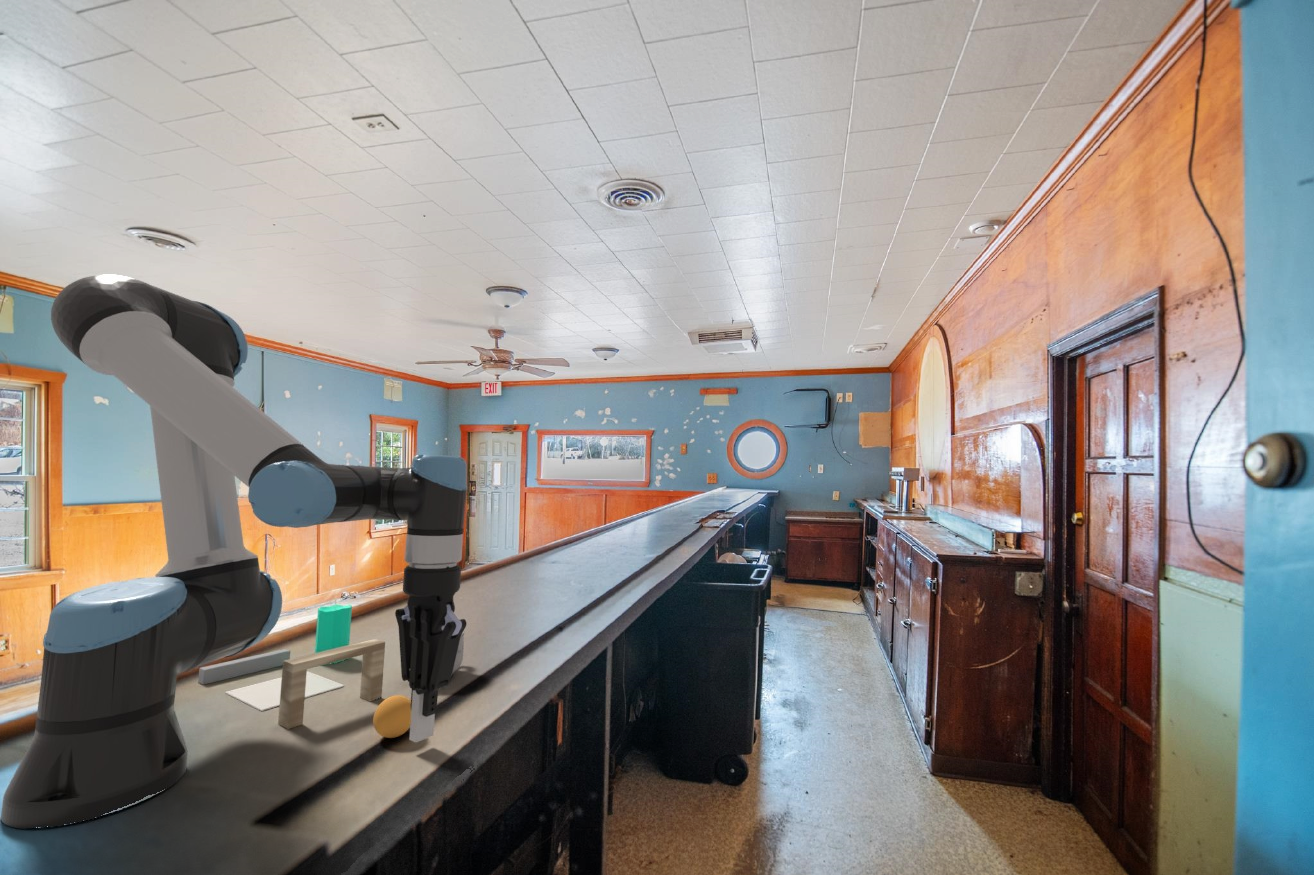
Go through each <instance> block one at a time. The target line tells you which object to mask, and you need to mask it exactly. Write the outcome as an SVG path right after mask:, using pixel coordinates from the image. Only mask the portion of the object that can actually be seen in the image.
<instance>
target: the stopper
mask: <svg viewBox="0 0 1314 875" xmlns="http://www.w3.org/2000/svg"><path fill="white" fill-rule="evenodd" d="M288 659H291V650H289V649H287V648H284V649H279V650H274V651H270V652H266V653H261V654H256V655H251V656H248V657H242V658H238V659H234V660H229V661H224V662H220V663H216V664H211V665H206V666H200V667H198V669H199V670H198V680H197V681H198V682H197V683H198V684H201V685H207V684H212V683H215V682H220V681H223V680H228V679H233V678H237V677H240V676H245V675H249V674H253V673H257V672H261V671H265V670H269V669H274V668H278V667H281V666H282V667H283V661H284V660H288Z"/></svg>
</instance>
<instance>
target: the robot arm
mask: <svg viewBox="0 0 1314 875" xmlns="http://www.w3.org/2000/svg"><path fill="white" fill-rule="evenodd" d="M50 320H51V325H52V328H53V331H54V333H55V334H56V336H57V338H58V339H59V341H60V342H61V343H62V344H63V345H64V347H65V348H66V349H67V350H68V351H69V353H71V354H72V355H74V357H76V358H77V359H78V360H80V361H81V362H82V363H84V365H86V366H87V367H88V368H89V369H91V370H92V371H95V372H96V373H99V374H102V375H105V376H114V377H115V378H117V380H118V381H120V382H121V383H122V384H124V385H125V386H126V387H127V388H128V389H129V390H131V391H132V392H133V393H134V394H136V395H137V396H138V397H139V398H141V400H142V401H144V402H145V403H146V404H147V405H149V408H150V416H151V425H152V432H153V433H152V434H153V442H154V449H155V459H156V466H157V467H156V468H157V473H158V474H157V476H158V483H159V485H158V486H159V493H160V499H161V500H160V501H161V509H162V515H163V516H162V517H163V518H162V519H163V526H164V536H165V541H166V550H167V562H166V564H164V566H163V567H162V568H161V569H160V570H159V571H158V572H157V573H156V574H155V576H151V577H150V576H149V577H148V576H147V577H140V578H139V577H138V578H133V579H128V580H125V581H123V580H122V581H120V580H119V581H118V580H117V581H111V582H107V583H103V584H98V585H94V586H90V587H88V588H84V589H82V590H79V591H76V592H73V593H71V594H69V595H67V596H65V597H63V598H62V599H61V600H59V602H57V603H56V604H55V605H54V607H53V608H52V609H51V612H50V615H49V618H48V623H47V628H46V629H47V630H46V632H45V634H44V636H43V639H42V641H43V642H42V646H43V654H42V655H43V656H42V666H41V669H42V670H41V677H40V685H39V686H40V687H39V694H38V695H39V696H38V702H37V703H38V704H37V712H36V720H35V730H34V736H33V738H32V740H31V742H30V744H29V746H28V747H27V750H26V752H25V753H24V755H23V757H22V759H21V761H20V763H19V765H18V767H17V768H16V770H15V772H14V775H13V777H12V778H11V780H10V781H9V784H8V785H7V787H6V790H5V792H4V794H3V798H2V804H1V806H2V807H1V812H0V820H1V822H2V823H3V824H4V825H6V826H8V827H11V826H12V827H11V828H16V829H23V828H36V827H37V828H38V827H41V828H40V829H43V828H42V827H47V826H48V827H50V828H52V827H51V826H58V827H62V826H61V825H64V824H70V823H74V822H79V823H82V822H81V821H83V820H88V821H91V820H90V819H92V820H95V819H94V818H95V817H99V816H101V815H103V814H105V813H109V812H111V811H113V810H117V809H118V808H122V807H124V806H127V805H129V804H132V803H135V802H136V801H139V800H141V799H143V798H144V797H146V796H148V795H152V794H156V793H157V792H160V791H162V790H164V789H166V788H168V789H170V787H173V786H174V785H175V784H176V783H178V781H180V780H181V779H182V777H183V776H184V775H185V773H186V770H187V765H188V755H189V754H188V752H189V751H188V747H187V746H188V745H187V744H186V740H185V738H184V735H183V732H182V729H181V725H180V723H179V720H178V717H177V714H176V711H175V710H176V709H175V701H176V700H175V699H176V690H177V688H176V687H177V680H178V675H181V674H183V673H186V672H189V671H192V670H195V669H199V668H201V667H204V666H205V665H206V666H207V665H208V664H211V663H213V662H215V661H218V660H220V659H225V658H229V657H233V656H236V655H239V654H241V653H242V652H245V651H246V650H247V649H249V648H252V647H254V646H255V645H257V644H259V643H260V642H262V641H263V640H264V639H265V638H266V637H268V636H269V635H270V633H271V632H272V630H273V629H274V628H275V627H276V625H277V623H278V621H279V618H280V615H281V612H282V608H283V595H282V594H283V593H282V591H281V590H282V589H281V587H280V585H279V583H278V582H277V580H276V579H275V578H272V577H271V574H269V573H267V572H265V571H264V570H263V571H262V570H261V568H260V564H259V563H260V562H259V557H258V555H257V554H255V553H254V552H252V551H250V550H248V549H247V548H246V547H245V546H244V545H245V544H244V536H243V530H242V529H243V528H242V523H241V515H240V508H239V500H238V493H237V484H236V478H237V479H238V480H240V482H242V483H243V484H244V485H245V486H246V487H248V493H247V494H248V496H247V497H248V502H249V504H250V505H251V509H252V513H253V514H254V516H255V517H256V518H257V519H258V520H260V521H261V522H263V523H264V524H266V525H269V526H271V527H277V528H278V527H279V528H296V529H299V528H308V527H313V526H318V525H319V526H320V525H326V524H334V523H345V522H355V521H356V522H357V521H363V520H364V521H368V520H378V521H379V520H386V521H388V520H389V521H390V520H391V521H395V520H396V521H406V522H407V525H406V526H407V528H406V540H405V550H404V562H406V564H408V565H406V566H405V567H404V570H403V580H402V581H403V582H402V592H403V593H404V594H406V595H408V598H407V602H406V604H407V605H406V606H404V607H402V608H397V609H396V610H395V612H394V614H395V618H396V621H397V626H398V637H399V638H398V640H399V656H400V669H401V670H400V672H401V673H400V674H401V679H402V681H404V682H406V681H407V682H408V685H409V688H410V690H411V695H410V700H411V723H410V728H409V739H408V740H409V741H411V742H413V743H420V742H421V741H424V740H426V739H428V738H431V737H433V736H434V732H435V718H436V717H435V716H436V714H437V710H438V709H437V707H438V695H439V694H438V693H439V690H440V689H443V688H446V687H449V686H450V685H451V681H452V676H453V674H452V672H453V668H454V663H455V659H456V655H457V650H458V646H459V641H460V637H461V635H462V633H463V631H464V632H465V629H466V628H467V621H466V619H465V618H461V619H459V618H458V616H457V615H456V613H455V611H456V610H455V609H456V605H455V602H454V596H455V595H456V593H457V592H458V591H460V589H461V581H462V580H461V578H462V566H461V565H460V564H459V562H461V561H462V560H463V559H462V558H463V543H464V542H463V540H464V530H465V529H464V527H465V526H464V525H465V512H466V501H467V493H468V492H467V491H468V489H469V488H468V476H467V475H468V466H467V462H466V460H465V459H464V458H463V457H461V456H455V455H444V454H443V455H441V454H417V455H415V456H413V458H412V461H411V464H410V467H402V468H400V467H385V466H384V467H382V466H366V465H365V466H364V465H353V464H352V465H347V464H346V465H345V464H331V463H328V462H325V461H324V460H323V459H322V458H320V457H319V456H317V455H316V454H315V453H314V452H312V451H311V450H310V449H309V448H307V447H306V446H305V445H304V444H303V443H302V442H300V441H299V440H298V439H297V438H296V437H295V436H293V434H291V433H289V432H288V431H287V430H285V429H284V428H283V427H282V426H281V425H279V423H277V422H276V421H275V420H273V419H272V418H271V417H270V416H268V415H267V414H266V413H265V412H264V411H263V410H261V409H260V408H258V406H256V405H255V404H254V403H252V401H250V400H249V399H248V398H247V397H246V396H244V395H243V394H242V393H241V392H240V391H238V390H237V389H235V388H234V386H235V377H236V376H237V375H238V374H239V373H240V372H241V371H242V370H243V367H242V365H243V364H246V361H247V359H248V352H249V351H248V350H249V348H248V342H247V338H246V334H245V333H244V331H243V329H242V328H241V327H240V325H239V324H238V323H237V321H236V320H234V319H233V318H232V317H230V315H228V314H226V313H224V312H222V311H219V310H218V309H216V308H215V307H213V306H211V305H209V304H207V303H205V302H204V303H203V302H200V301H196V300H192V299H189V298H186V297H183V296H182V295H179V294H175V293H173V292H170V291H168V290H165V289H163V288H161V287H157V286H155V285H152V284H150V283H147V282H144V281H142V280H139V279H136V278H133V277H130V276H124V275H117V274H97V275H95V274H94V275H89V276H86V277H82V278H80V279H76V280H74V281H72V282H71V283H69V284H68V285H67V286H65V287H64V288H63V289H62V290H60V291H59V293H58V294H57V296H56V297H55V299H53V303H52V305H51V309H50ZM235 477H236V478H235ZM409 669H410V670H409ZM166 790H167V789H166ZM99 818H100V817H99ZM70 825H71V824H70ZM64 826H65V825H64Z"/></svg>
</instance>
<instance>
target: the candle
mask: <svg viewBox="0 0 1314 875" xmlns="http://www.w3.org/2000/svg"><path fill="white" fill-rule="evenodd" d="M352 612H353V606H352V605H351V604H347V605H341V604H337V599H335V602H334V604H333V605H329V606H320V607H319V608H318V609H317V619H316V630H315V631H316V633H315V645H314V646H315V647H314V653H318V652H322V651H326V650H331V649H335V648H339V647H343V646H347V645H350V638H351V626H352V625H351V624H352V623H351V622H352ZM344 660H345V659H344ZM344 660H341V661H342V662H344ZM345 661H346V660H345ZM337 662H340V661H337ZM337 662H333V663H334V664H338V663H337ZM340 663H341V662H340ZM328 665H331V664H330V663H329V664H328Z"/></svg>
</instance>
